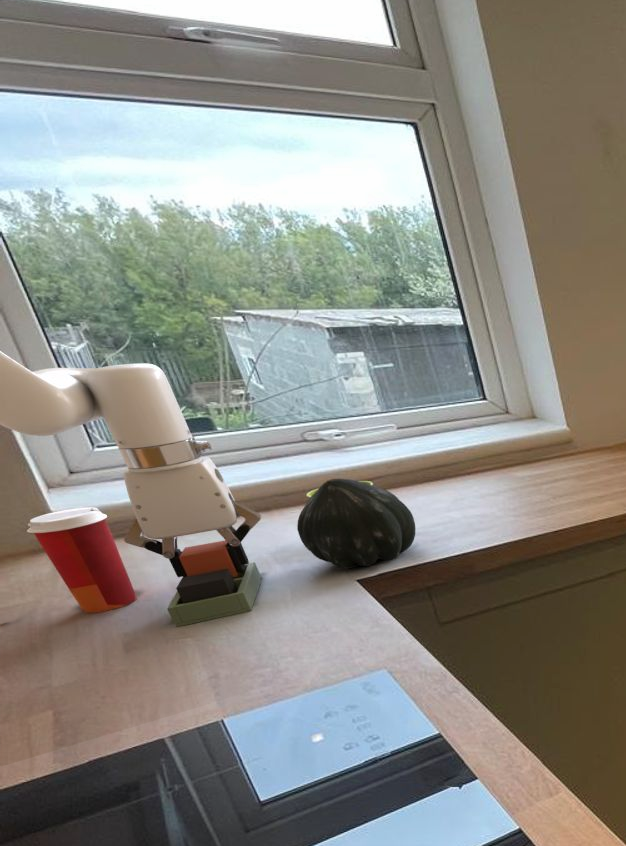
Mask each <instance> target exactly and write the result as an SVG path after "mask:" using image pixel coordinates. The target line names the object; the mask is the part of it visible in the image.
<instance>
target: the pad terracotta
mask: <svg viewBox="0 0 626 846" xmlns="http://www.w3.org/2000/svg"><path fill="white" fill-rule="evenodd" d="M227 543H228V542H227V541H226V540H225V539H224V540H220V541H213V542H209V543H203V544H202V543H201V544H197V545H192V546H187V547H184V548H183V550H182V553H181V555H180V556H179V559H180V561H181V563H182V565H183V567H184V569H185V572H186V574H187V576H193V575H198V574H203V573H208V572H213V571H218V570H223V569H229V571H230V573H231V575H232V577H237V575H238V573H239V572H237V571H236V569H235V567H234V565H233V562H232V560H231V558H230V556H229V553H228V551H227V547H228V544H227Z"/></svg>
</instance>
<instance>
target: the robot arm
mask: <svg viewBox="0 0 626 846" xmlns="http://www.w3.org/2000/svg"><path fill="white" fill-rule="evenodd" d="M99 420H100V421H101V420H105V423H106V426H107V427H108V429H109V431H110V434H111V435H112V438H113V440H114V442H115V444H116V446H117V448H118V450H119V452H120V454H121V457H122V459H123V460H124V463H125V465H126V467H127V468H125V469H124V470H123V473H122V474H123V479H124V483H125V488H126V491H127V495H128V499H129V501H130V504H131V507H132V510H133V513H134V516H135V520H134V522H133V523H132V525H131V527H130V528H129V531H128V532H127V533H126V535H125V537H124V539H123V541H124V543H126V544H129V545H130V546H131V545H132V546H135V547H139V548H143V549H145V550H147V551H149V552H152V553H155V554H157V555H160V556H162V557H163V558H165V559H168V560H169V563H170V564H171V566H172V568H173V571H174V573H175V575H176V577H177V578H183V577H187V574H186V572H185V569H184V567H183V565H182V563H181V561H180V559H179V556H180V555H181V553H182V551H183V550H182V551H181V549H180V548H179V539H178V537H183V536H189V535H194V534H195V535H196V534H199V533H206V532H212V531H216V532H217V533H218V534H219V535H221V537H222V538H223V539H224V541H225V540H226V541H227V542H228V543H227V544H228V547H227V551H228V553H229V556H230V558H231V560H232V562H233V565H234V567H235V569H236V571H237V572H239V573H240V572H244V570H245V567H246V566H245V564H249V563H250V562H249V559H248V556H247V554H246V551H245V549H244V546H243V544H242V542H243V540H244V539H245V537H246V536H247V535H248V534H249V532H250V531H251V530H252V529H253V528H254V527H255V526H256V525H257V524H258V523H259V522H260V521H261V519H262V515H261V514H260V513H259V512H257V511H255V510H253V509H252V508H249V507H247V506H246V505H244V504H242V503H240V502H238V501H236V499H235V498H234V496H233V494H232V492H231V490H230V488H229V486H228V484H227V483H226V481H225V479H224V477H223V475H222V473H221V471H220V470H219V469H218V467H217V466H216V464H215V463H214V462H213V460H212V459H211V458H210V457H207V456H204V457H203V456H202V455H203V453H205V452H207V451H212V450H213V449H212V445H211V443H210V442H209V440H205V441H202V440H198V439H196V438H195V436H193V435H192V432H191V431H190V429H189V426H188V424H187V421H186V418H185V416H184V414H183V412H182V409H181V407H180V405H179V402H178V401H177V398H176V395H175V394H174V391H173V389H172V386H171V385H170V382H169V381H168V378H167V376H166V374H165V372H164V371H163V369H161V368H160V367H159V366H157V365H155V364H152V363H140V362H139V363H126V364H125V363H124V364H123V363H122V364H114V365H113V364H112V365H107V366H102V367H97V368H96V367H93V368H91V367H89V368H87V367H85V368H84V367H83V368H82V367H49V368H42V369H37V370H35V371H31V370H30V369H28V368H27V367H25V366H24V365H23V364H20V363H19V362H18V361H16V360H15V359H13V358H12V357H10V356H8V355H7V354H5V353H4V352H3V351H1V350H0V426H2V427H4V428H6V429H9V430H11V431H14V432H17V433H20V434H24V435H27V436H37V437H46V436H54V435H55V436H56V435H58V434H61V433H64V432H67V431H69V430H71V429H74V428H76V427H79V426H83V425H85V424H88V423H91V422H95V421H99ZM240 517H242V518H243V519H244V521H243V522H242V523H240V525H239V526H238V527H237V529H236V528H235V527H234V525H235V524H236V523H238V518H240ZM143 534H144V535H143ZM159 540H161V541H159Z"/></svg>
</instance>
